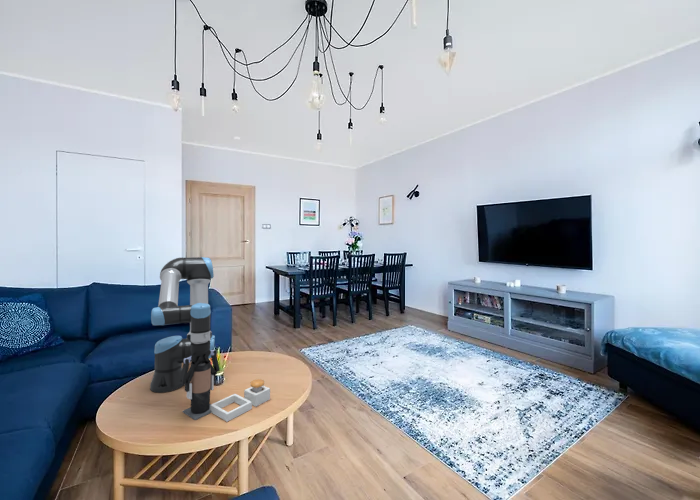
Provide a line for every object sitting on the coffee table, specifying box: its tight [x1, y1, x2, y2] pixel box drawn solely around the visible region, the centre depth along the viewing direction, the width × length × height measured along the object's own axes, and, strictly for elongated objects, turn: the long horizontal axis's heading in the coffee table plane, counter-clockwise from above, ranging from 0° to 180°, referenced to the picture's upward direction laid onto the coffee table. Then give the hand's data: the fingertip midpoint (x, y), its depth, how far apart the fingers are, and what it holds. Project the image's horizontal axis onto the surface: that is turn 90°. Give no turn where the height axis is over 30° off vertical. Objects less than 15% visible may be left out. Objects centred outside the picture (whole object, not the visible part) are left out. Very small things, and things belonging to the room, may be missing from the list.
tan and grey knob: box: [249, 378, 265, 393], centre depth 141 cm, size 6×6×8 cm
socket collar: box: [210, 393, 253, 423], centre depth 133 cm, size 12×12×3 cm
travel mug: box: [190, 360, 212, 414], centre depth 132 cm, size 8×8×20 cm
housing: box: [243, 385, 271, 407], centre depth 141 cm, size 8×8×5 cm
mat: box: [182, 403, 212, 421], centre depth 132 cm, size 10×10×1 cm
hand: (200, 393), depth 132 cm, fingers open, 9 cm apart
